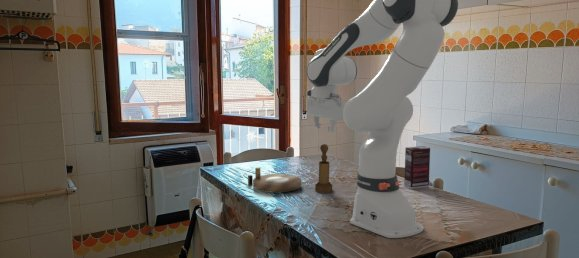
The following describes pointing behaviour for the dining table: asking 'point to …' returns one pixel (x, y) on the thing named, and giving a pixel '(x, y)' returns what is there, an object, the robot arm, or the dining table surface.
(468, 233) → the dining table surface
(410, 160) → the supplement box
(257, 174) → the turntable
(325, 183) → the brown wooden upright piece
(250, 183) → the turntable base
